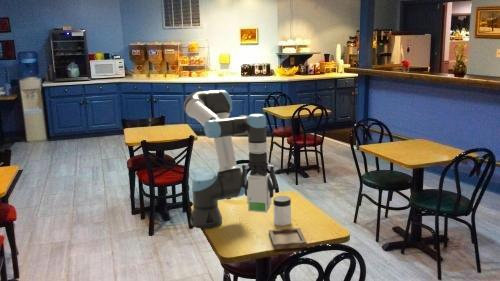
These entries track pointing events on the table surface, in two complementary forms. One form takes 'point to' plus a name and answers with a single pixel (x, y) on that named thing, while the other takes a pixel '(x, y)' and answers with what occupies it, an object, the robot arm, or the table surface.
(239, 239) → the table surface
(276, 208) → the jar
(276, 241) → the brown wooden tray
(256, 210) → the skincare box
